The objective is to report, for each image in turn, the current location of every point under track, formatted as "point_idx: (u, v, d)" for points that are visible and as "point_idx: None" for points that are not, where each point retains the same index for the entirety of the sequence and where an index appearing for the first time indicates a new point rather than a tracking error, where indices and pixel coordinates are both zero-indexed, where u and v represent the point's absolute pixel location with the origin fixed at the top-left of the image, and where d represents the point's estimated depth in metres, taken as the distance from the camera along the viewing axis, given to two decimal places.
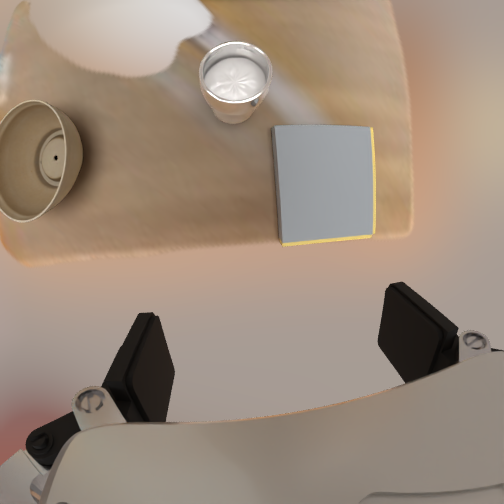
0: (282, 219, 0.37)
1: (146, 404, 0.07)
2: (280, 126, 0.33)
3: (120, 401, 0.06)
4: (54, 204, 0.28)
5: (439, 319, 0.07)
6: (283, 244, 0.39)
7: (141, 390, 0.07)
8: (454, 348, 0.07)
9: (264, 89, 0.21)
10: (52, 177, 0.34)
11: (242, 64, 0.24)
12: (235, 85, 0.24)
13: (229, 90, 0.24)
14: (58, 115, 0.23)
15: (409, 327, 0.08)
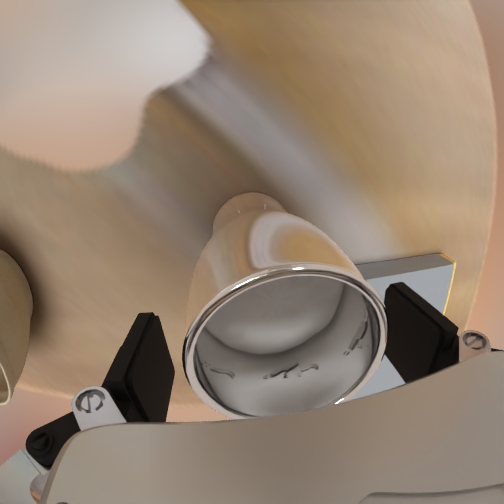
0: None
1: (146, 404, 0.07)
2: None
3: (120, 401, 0.06)
4: None
5: (439, 319, 0.07)
6: None
7: (141, 390, 0.07)
8: (454, 348, 0.07)
9: (355, 391, 0.09)
10: None
11: None
12: (275, 309, 0.12)
13: (260, 320, 0.12)
14: None
15: (409, 327, 0.08)
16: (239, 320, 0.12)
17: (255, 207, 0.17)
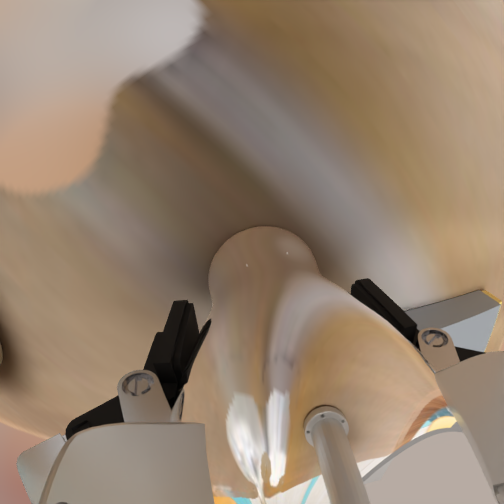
0: None
1: None
2: None
3: (165, 383, 0.07)
4: None
5: (398, 315, 0.08)
6: None
7: None
8: None
9: None
10: None
11: None
12: None
13: None
14: None
15: None
16: None
17: (273, 260, 0.11)
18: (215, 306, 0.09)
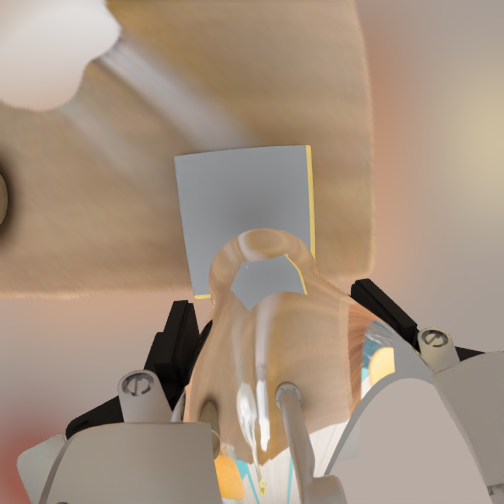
0: (190, 269, 0.31)
1: None
2: (181, 156, 0.27)
3: (165, 383, 0.07)
4: None
5: (398, 315, 0.08)
6: (195, 296, 0.33)
7: None
8: (414, 345, 0.07)
9: None
10: None
11: None
12: None
13: None
14: None
15: None
16: None
17: (274, 262, 0.11)
18: (215, 308, 0.09)
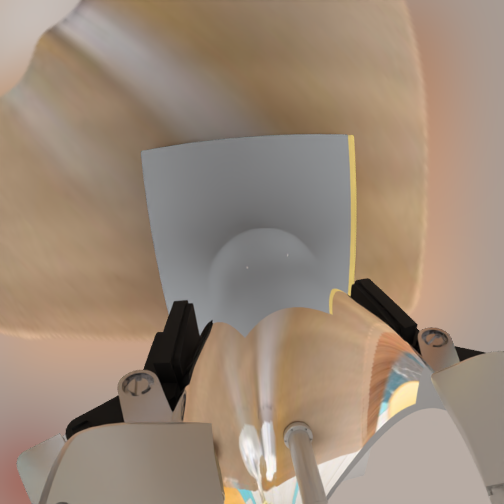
0: None
1: None
2: (151, 151, 0.17)
3: (165, 383, 0.07)
4: None
5: (398, 315, 0.08)
6: None
7: None
8: (414, 345, 0.07)
9: None
10: None
11: None
12: None
13: None
14: None
15: None
16: None
17: (274, 262, 0.11)
18: (215, 309, 0.09)
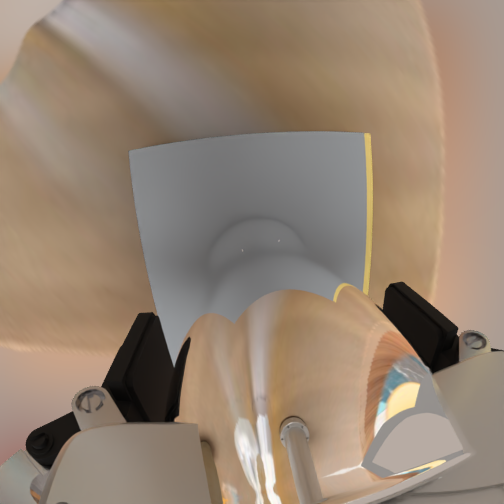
0: (167, 340, 0.18)
1: (146, 404, 0.07)
2: (140, 151, 0.14)
3: (120, 401, 0.06)
4: None
5: (439, 319, 0.07)
6: None
7: (141, 390, 0.07)
8: (454, 348, 0.07)
9: None
10: None
11: None
12: None
13: None
14: None
15: (409, 327, 0.08)
16: None
17: (266, 246, 0.12)
18: (214, 283, 0.10)
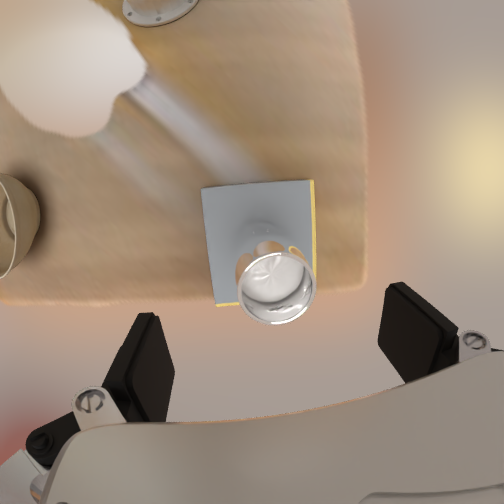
0: (213, 282, 0.38)
1: (146, 404, 0.07)
2: (206, 189, 0.34)
3: (120, 401, 0.06)
4: (15, 265, 0.29)
5: (439, 319, 0.07)
6: (216, 304, 0.39)
7: (141, 390, 0.07)
8: (454, 348, 0.07)
9: (305, 309, 0.23)
10: None
11: None
12: (272, 277, 0.26)
13: (265, 283, 0.26)
14: (6, 190, 0.24)
15: (409, 327, 0.08)
16: (255, 282, 0.26)
17: (262, 230, 0.32)
18: None
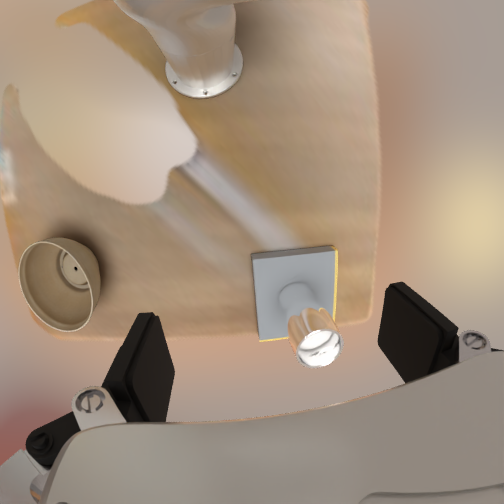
0: (259, 325, 0.49)
1: (146, 404, 0.07)
2: (257, 260, 0.45)
3: (120, 401, 0.06)
4: None
5: (439, 319, 0.07)
6: (260, 340, 0.50)
7: (141, 390, 0.07)
8: (454, 348, 0.07)
9: (335, 358, 0.34)
10: (75, 283, 0.45)
11: None
12: (313, 335, 0.37)
13: (308, 338, 0.38)
14: (78, 262, 0.35)
15: (409, 327, 0.08)
16: None
17: (302, 295, 0.43)
18: (291, 306, 0.41)
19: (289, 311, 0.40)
